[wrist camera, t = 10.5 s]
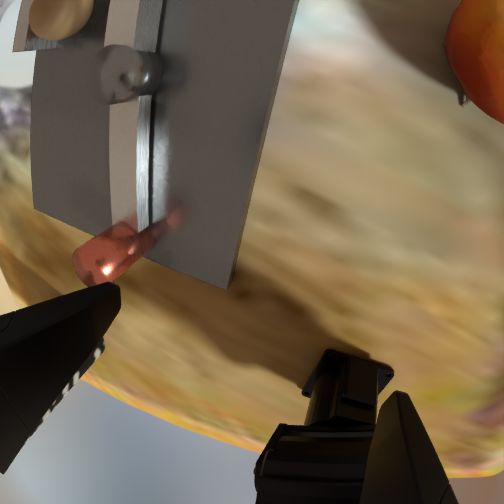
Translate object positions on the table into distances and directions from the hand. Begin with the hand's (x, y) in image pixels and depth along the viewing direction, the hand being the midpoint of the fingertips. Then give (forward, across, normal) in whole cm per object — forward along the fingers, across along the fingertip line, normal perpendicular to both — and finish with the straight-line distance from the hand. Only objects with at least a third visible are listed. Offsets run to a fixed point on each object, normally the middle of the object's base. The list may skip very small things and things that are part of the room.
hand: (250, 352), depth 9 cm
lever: (+12, +13, -2) cm, 17 cm away
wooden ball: (+12, +20, -11) cm, 26 cm away
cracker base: (+13, +15, -3) cm, 20 cm away
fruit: (+13, -8, -13) cm, 20 cm away
